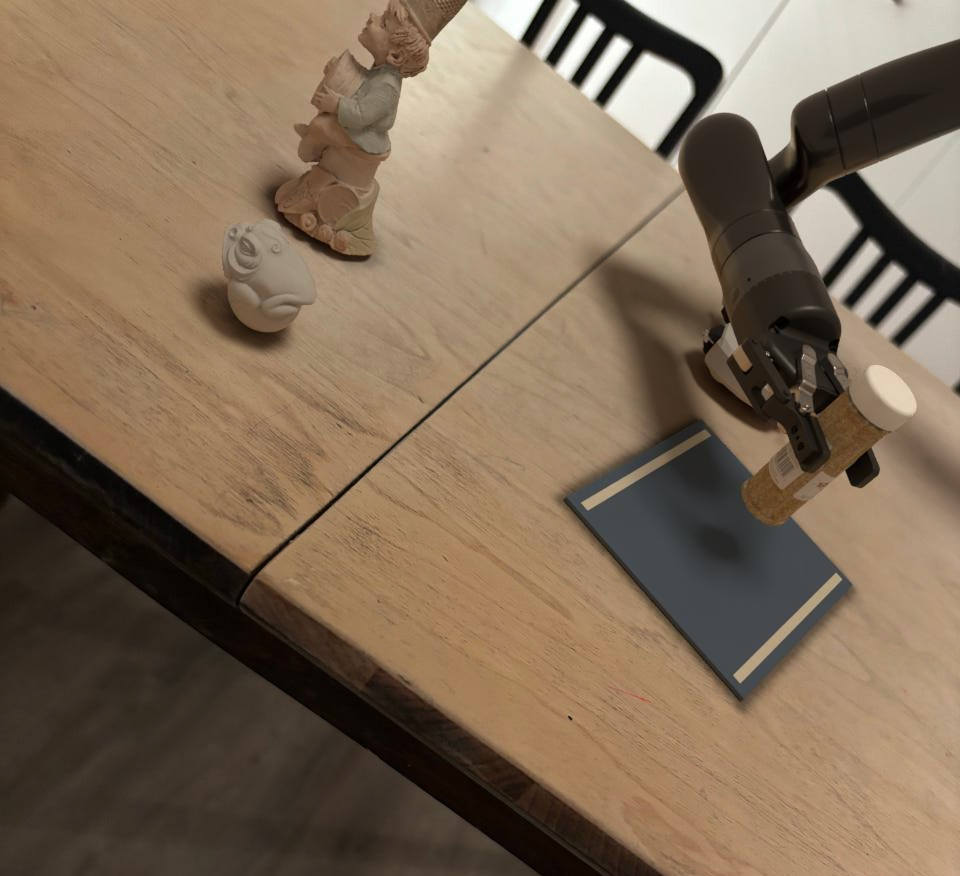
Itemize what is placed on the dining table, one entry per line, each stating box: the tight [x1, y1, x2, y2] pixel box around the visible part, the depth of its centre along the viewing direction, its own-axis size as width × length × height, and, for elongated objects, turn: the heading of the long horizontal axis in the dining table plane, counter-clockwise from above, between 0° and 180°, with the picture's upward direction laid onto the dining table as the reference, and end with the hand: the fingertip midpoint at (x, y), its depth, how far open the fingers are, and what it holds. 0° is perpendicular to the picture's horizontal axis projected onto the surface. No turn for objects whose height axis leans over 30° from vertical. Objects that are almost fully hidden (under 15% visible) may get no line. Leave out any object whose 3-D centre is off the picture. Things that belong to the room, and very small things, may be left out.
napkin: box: [563, 418, 853, 702], centre depth 80 cm, size 22×20×1 cm
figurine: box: [274, 0, 469, 256], centre depth 71 cm, size 9×8×20 cm
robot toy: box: [701, 296, 771, 410], centre depth 96 cm, size 12×4×15 cm
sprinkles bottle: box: [741, 364, 918, 526], centre depth 72 cm, size 5×5×13 cm
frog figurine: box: [221, 218, 318, 333], centre depth 66 cm, size 6×7×7 cm
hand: (842, 472), depth 70 cm, fingers closed on sprinkles bottle, 4 cm apart
